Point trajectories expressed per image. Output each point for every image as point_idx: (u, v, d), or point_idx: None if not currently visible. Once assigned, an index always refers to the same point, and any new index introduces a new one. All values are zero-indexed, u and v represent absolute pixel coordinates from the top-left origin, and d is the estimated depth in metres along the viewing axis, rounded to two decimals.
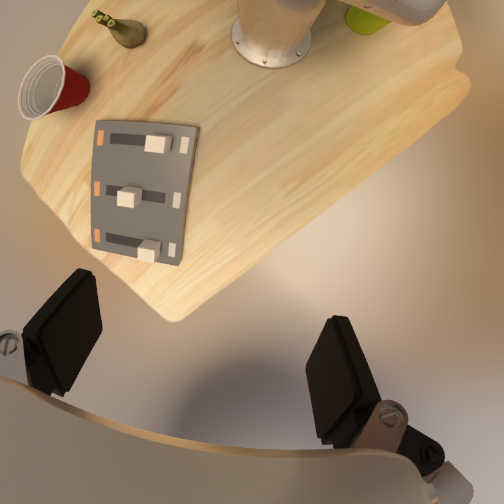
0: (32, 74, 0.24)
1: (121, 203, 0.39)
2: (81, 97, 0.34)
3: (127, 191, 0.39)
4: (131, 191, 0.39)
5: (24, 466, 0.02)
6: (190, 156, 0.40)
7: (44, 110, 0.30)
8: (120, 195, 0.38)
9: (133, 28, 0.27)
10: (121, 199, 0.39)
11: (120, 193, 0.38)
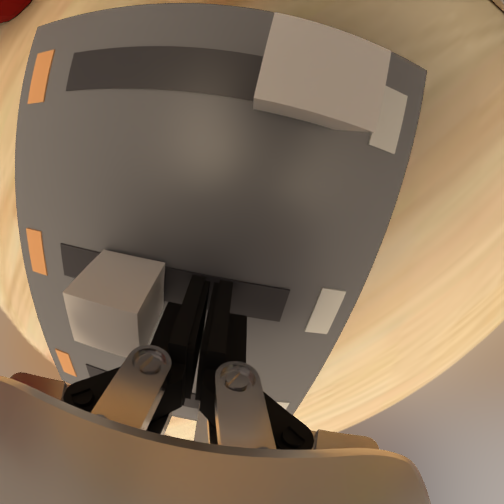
0: None
1: (89, 338, 0.09)
2: None
3: (104, 295, 0.08)
4: (122, 294, 0.09)
5: (24, 466, 0.02)
6: (403, 166, 0.10)
7: None
8: (78, 311, 0.08)
9: None
10: (86, 325, 0.08)
11: (76, 303, 0.08)
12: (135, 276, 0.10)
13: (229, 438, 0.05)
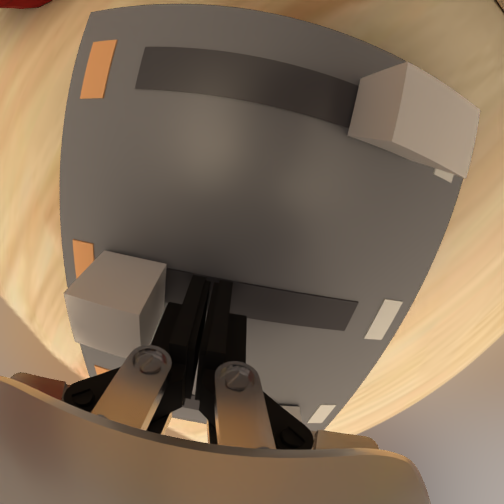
0: None
1: (90, 339, 0.09)
2: None
3: (106, 296, 0.08)
4: (124, 296, 0.09)
5: (24, 466, 0.02)
6: (456, 193, 0.10)
7: None
8: (79, 312, 0.08)
9: None
10: (87, 326, 0.08)
11: (77, 304, 0.08)
12: (136, 277, 0.10)
13: (229, 438, 0.05)
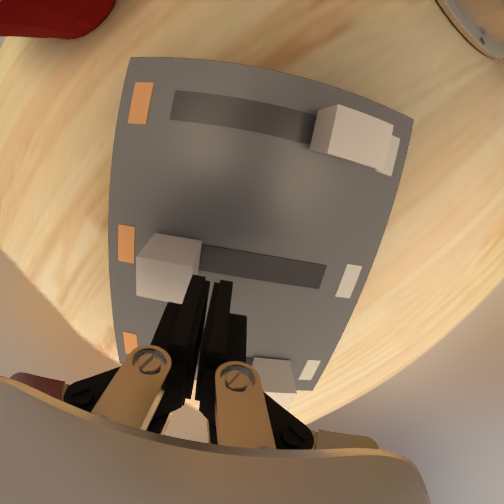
0: None
1: (150, 291, 0.14)
2: (94, 10, 0.10)
3: (167, 257, 0.14)
4: (179, 257, 0.14)
5: (24, 466, 0.02)
6: (396, 183, 0.16)
7: None
8: (146, 269, 0.13)
9: None
10: (150, 280, 0.14)
11: (146, 264, 0.13)
12: (184, 247, 0.15)
13: (229, 438, 0.05)
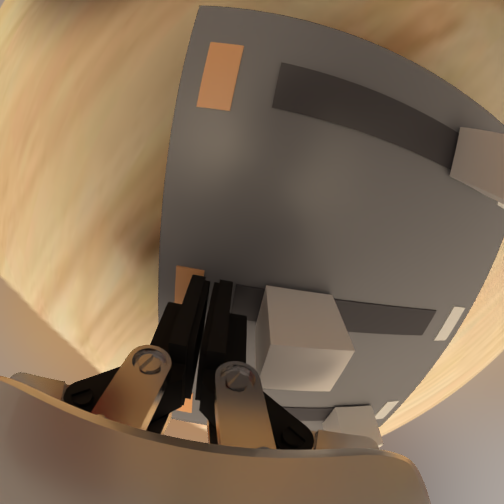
0: None
1: (280, 382, 0.09)
2: None
3: (315, 338, 0.09)
4: (329, 335, 0.09)
5: (24, 466, 0.02)
6: None
7: None
8: (283, 359, 0.09)
9: None
10: (285, 371, 0.09)
11: (285, 352, 0.08)
12: (322, 313, 0.10)
13: (229, 438, 0.05)
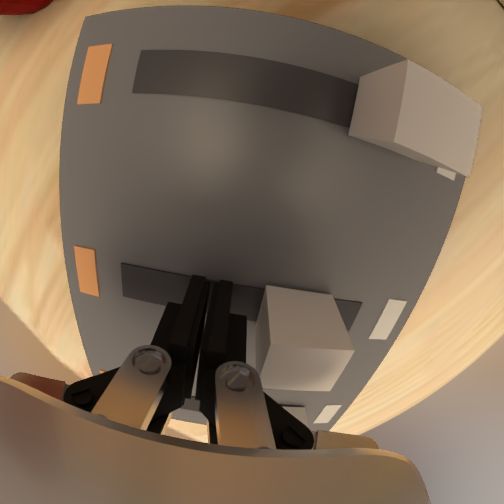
0: None
1: (280, 382, 0.09)
2: None
3: (315, 338, 0.09)
4: (329, 334, 0.09)
5: (24, 466, 0.02)
6: (458, 191, 0.10)
7: None
8: (283, 359, 0.09)
9: None
10: (285, 370, 0.09)
11: (285, 352, 0.09)
12: (322, 313, 0.10)
13: (229, 438, 0.05)
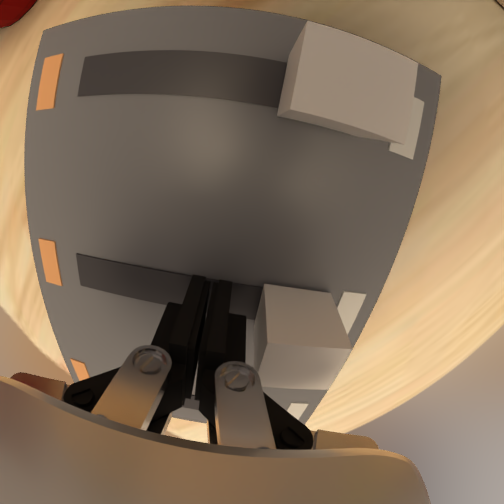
0: None
1: (278, 380, 0.09)
2: None
3: (312, 337, 0.09)
4: (326, 333, 0.09)
5: (24, 466, 0.02)
6: (420, 171, 0.09)
7: None
8: (280, 357, 0.09)
9: None
10: (283, 369, 0.09)
11: (282, 351, 0.09)
12: (320, 311, 0.10)
13: (228, 438, 0.05)
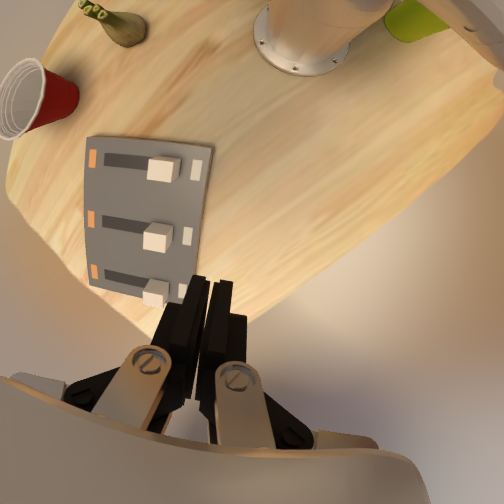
0: (9, 82, 0.18)
1: (149, 246, 0.33)
2: (68, 109, 0.28)
3: (156, 232, 0.33)
4: (161, 232, 0.33)
5: (24, 466, 0.02)
6: (203, 184, 0.33)
7: (25, 126, 0.24)
8: (147, 237, 0.32)
9: (131, 22, 0.21)
10: (149, 241, 0.33)
11: (147, 234, 0.32)
12: (164, 228, 0.34)
13: (229, 438, 0.05)
